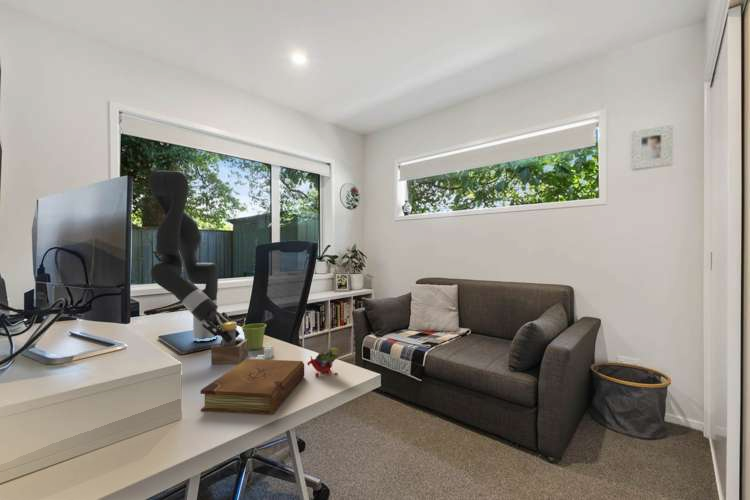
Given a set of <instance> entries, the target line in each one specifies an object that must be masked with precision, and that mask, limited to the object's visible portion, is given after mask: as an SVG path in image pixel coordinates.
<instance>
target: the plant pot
mask: <svg viewBox="0 0 750 500" xmlns="http://www.w3.org/2000/svg"><path fill="white" fill-rule="evenodd" d="M266 327H267V323H249V324H245V325H242V326H241V329H242V332H243V336H244V339H248V351H252V350H253V351H254V350H259V349H262V348H263V345H264V337H265V331H266Z"/></svg>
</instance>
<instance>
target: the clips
mask: <svg viewBox="0 0 750 500" xmlns="http://www.w3.org/2000/svg"><path fill="white" fill-rule="evenodd" d="M273 356H274V346H272V345H269V346H268V345H267V346H266V347H265V348H264V349H263V354H257V355H256V357H254V359H261V360H266V359H271V358H272V357H273Z"/></svg>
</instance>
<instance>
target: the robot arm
mask: <svg viewBox="0 0 750 500" xmlns="http://www.w3.org/2000/svg"><path fill="white" fill-rule="evenodd" d="M148 184H149V185H148V186H149V187H150V190H151V191H150V192H151V193H152V195H153V197H154V198H155V200H156V203H157V204H158V206H159V207H160V209H161V211H162V213H163V215H164V218H163V220H162V221H161V222H160V223H159V225H158V227H157V231H156V240H155V251H156V254H157V255H159V256H160V257H161V258H160V259H161V262H159V263H156V264H155V265H153V266H152V267H151V269H150V276H151V279H152V280H153V281H154V282H155V283H156V284H157V285H158V286H159V287H160V288H162V289H165V290H166V291H167V292H169V293H171V294H172V295H174V296H175V298H176V299H177V300H178V301H180V303H182V304H183V306H184V307H185V308H186V310H187V311H189V313H190V314H192V316H193V318H192V322H193V323H192V325H193V326H192V328H193V329H192V330H193V333H192V335H193V337H194V338H199V339H205V338H212V337H215V336H217V337H220V338H221V339H222V338H223V339H224V340H225V341H226V342H227V343H229V342H230V341H231V340H232V339H233V337H232V336H230V335H229V334H228V333H227V332H226V331H225V330H224V328H223V324H222V323H224V322H234V321H233V320H232V319H231V318H230V317H229V316H228V314H226V312H224V311H223V312H222V313H220V312H218V308H219V307H218V298H217V297H218V286H219V285H218V284H219V269H218V265H217V264H215V262H198V260H197V257H196V254H197V251H198V248H199V247H200V244H201V242H202V241H201V240H202V236H201V232H200V229H199V226H198V223H197V222H196V220H194V218H193V217H192V216H191V215H190V214H189V213H188V212H187V211H185V208H186V203H187V199H188V193H189V179H188V177H187V175H186V174H185V173H184V172H183V171H180V170H153V171H151V173H150V174H149V176H148ZM182 261H183V264H184V265H183V264H182ZM183 266H184V267H185V268H184V269H185V271H186V275H187V278H188V279H186V278H184V277H183V276H181V275H182V274H183V273H182V272H183ZM197 285H205V288H204V289H203V290H201V289H200V288H198V286H197ZM224 331H225V332H224ZM235 332H236V338H237V337H238V336H240V334H241V333H240V332H239V330H237V328H236V329H235Z"/></svg>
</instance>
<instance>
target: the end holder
mask: <svg viewBox="0 0 750 500" xmlns="http://www.w3.org/2000/svg"><path fill="white" fill-rule="evenodd" d="M248 356H249V350H248V339H245V338H244V339H236V346H222V339H221V340H220V345H211V347H210V360H211V362H210V363H211V364H210V365H238V364H240V363H241V362H243V361H244V360H246V359H247V357H248Z"/></svg>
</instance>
